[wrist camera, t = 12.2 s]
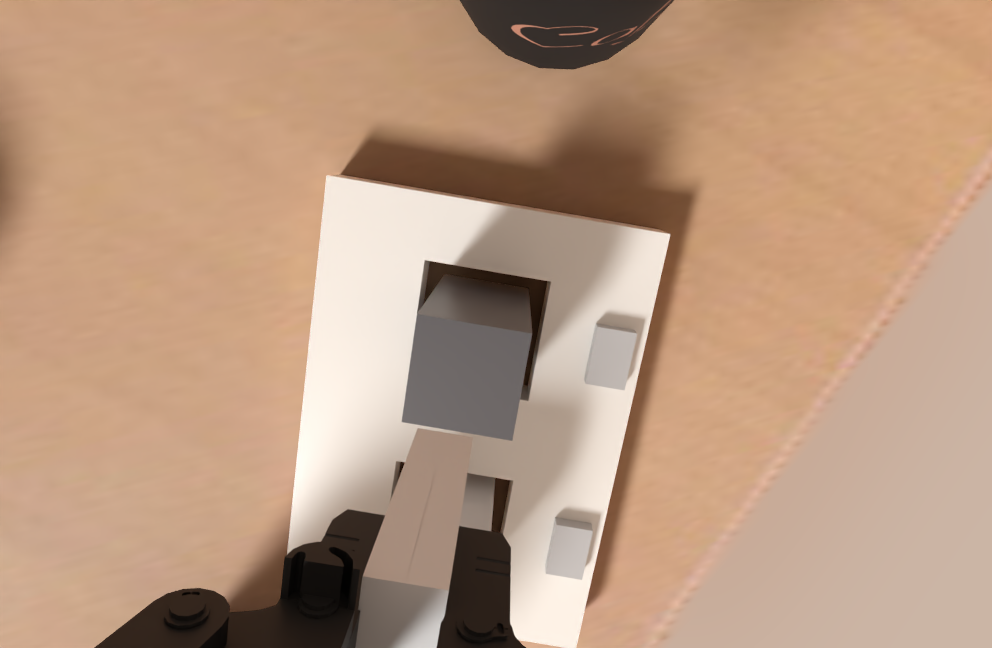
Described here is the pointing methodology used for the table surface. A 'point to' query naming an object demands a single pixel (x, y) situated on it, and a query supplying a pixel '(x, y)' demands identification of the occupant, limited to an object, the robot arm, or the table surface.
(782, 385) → the table surface
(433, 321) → the dark grey block
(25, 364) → the table surface
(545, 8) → the coffee jar
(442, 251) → the white peg board
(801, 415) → the table surface
